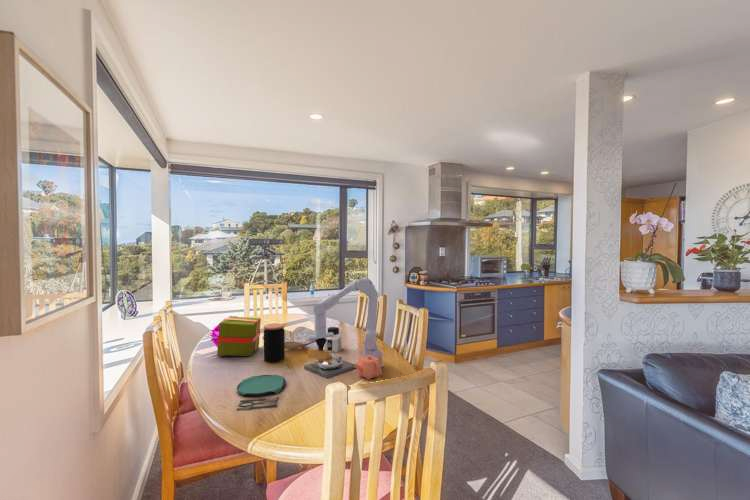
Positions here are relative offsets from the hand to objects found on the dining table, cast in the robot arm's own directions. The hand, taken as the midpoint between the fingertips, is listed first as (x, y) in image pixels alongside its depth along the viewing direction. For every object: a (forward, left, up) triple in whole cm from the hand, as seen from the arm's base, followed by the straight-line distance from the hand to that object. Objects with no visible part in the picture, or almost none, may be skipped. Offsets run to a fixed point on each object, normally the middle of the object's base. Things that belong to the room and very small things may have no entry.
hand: (320, 353), depth 174 cm
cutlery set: (-8, +37, -7) cm, 38 cm away
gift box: (+52, +21, -6) cm, 56 cm away
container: (+15, -20, -6) cm, 26 cm away
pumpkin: (-28, -5, -6) cm, 29 cm away
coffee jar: (+25, +12, -6) cm, 28 cm away
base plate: (-7, 0, -6) cm, 9 cm away
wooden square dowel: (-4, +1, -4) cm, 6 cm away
